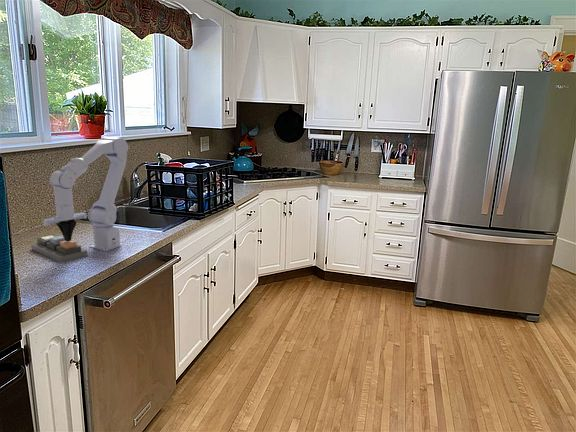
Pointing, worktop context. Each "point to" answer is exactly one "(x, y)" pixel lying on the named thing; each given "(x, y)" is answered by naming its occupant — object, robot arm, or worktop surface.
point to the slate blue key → (57, 240)
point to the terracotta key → (68, 244)
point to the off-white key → (46, 238)
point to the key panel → (58, 251)
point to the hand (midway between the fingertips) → (67, 240)
